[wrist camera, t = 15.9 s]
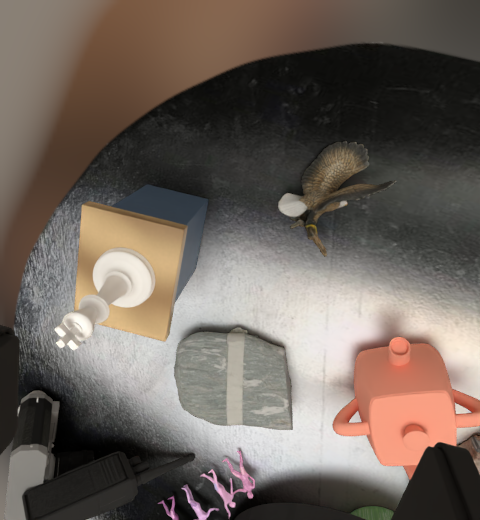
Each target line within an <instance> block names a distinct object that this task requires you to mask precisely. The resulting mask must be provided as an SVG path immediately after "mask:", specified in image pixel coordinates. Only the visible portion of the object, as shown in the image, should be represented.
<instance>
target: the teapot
mask: <svg viewBox="0 0 480 520" xmlns="http://www.w3.org/2000/svg"><path fill="white" fill-rule="evenodd" d="M354 390H355V397H356V398H355V399H353V400H352V401H351V402H350V403H349V404H347V405H346V406H345V407H344V408H343V409H342V410H341V411H340V412H339V413H338V414H337V415H336V417H335V419H334V421H333V429H334V431H335V432H336V433H337V434H339V435H343V436H361V435H367V437H368V440H369V442H370V444H371V446H372V448H373V450H374V452H375V454H376V456H377V458H378V460H379V461H380V463H381V464H382V465H385V466H403V467H404V469H405V471H406V473H407V475H408V477H409V479H410V480H411V478H412V476H413V473H414V471H415V469H416V467H417V465H418V463H419V461H420V459H421V457H422V455H423V453H424V451H425V449H426V448H427V447H428V446H430V447H434V446H435V444H436V443H438V442H442V443H446V444H450V445H454V446H456V428H463V427H476V426H480V401H479V400H478V399H475V398H473V397H471V396H469V395H466V394H464V393H461V392H459V391H456V390H454V389H452V387H451V383H450V380H449V376H448V373H447V370H446V367H445V364H444V362H443V359H442V357H441V355H440V353H439V352H438V351H437V350H436V349H435V348H434V347H433V346H431V345H429V344H424V343H421V344H410V343H409V342H408V340H406V339H405V338H403V337H395V338H393V339H392V340H391V341H390V343H389V346H387V347H380V348H374V349H368V350H364V351H361V352H360V353H359V355H358V356H357V358H356V361H355V368H354ZM454 402H455V403H457V404H459V405H461V406H463V407H465V408H467V409H468V410H470V411H471V412H472V413H466V414H456V411H455V403H454ZM357 411H359V415H360V418H361V421H362V422H359V423H348V422H349V420H350V419H351V417H352V416H353V415H354V414H355V413H356V412H357Z"/></svg>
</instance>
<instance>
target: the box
mask: <svg viewBox="0 0 480 520" xmlns="http://www.w3.org/2000/svg"><path fill="white" fill-rule="evenodd" d="M208 201H209V199H205V198H201V197H197V196H193V195H189V194H185V193H181V192H177V191H173V190H169V189H164V188H160V187H156V186H152V185H148V184H147V185H145V186H144V187H142V188H140V189H139V190H137V191H135V192H134V193H132V194H131V195H129V196H127V197H126V198H124V199H122V200H121V201H119V202H118V203H116V204H114V205H113V206H111V207H115V208H119V209H123V210H127V211H131V212H135V213H139V214H143V215H147V216H151V217H155V218H159V219H163V220H167V221H171V222H175V223H179V224H183V225H187V226H188V228H187V234H186V240H185V246H184V251H183V257H182V263H181V269H180V275H179V280H178V286H177V292H176V298H175V302H176V300H177V299H178V297H179V295H180V294H181V292H182V290H183V289H184V287H185V286H186V284H187V282H188V281H189V279H190V277H191V276H192V274H193V272H194V271H195V269H196V265H197V259H198V254H199V249H200V243H201V238H202V233H203V227H204V222H205V217H206V211H207V206H208Z"/></svg>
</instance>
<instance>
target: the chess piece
mask: <svg viewBox="0 0 480 520" xmlns="http://www.w3.org/2000/svg"><path fill="white" fill-rule="evenodd" d="M93 281H94V285H95V287H96V289H97V291H98V294H97V295H86V296H84V297H83V298H82V299H81V301H80V303H79V310H76V311H72V312H70V313H68V314H66V315H65V317H64V318H63V320H62V323H61V324H60V325H59V326H57V327H56V328H55V329H54V330H55V331H56V332H57V333H58V334H59V335H60V337H61V338H60V339H59V340H58V341H57V342H56V344H57V345H58V346H59V347H60V348H62V347H64V346H65V345H66V344H68V345H69V346H70V348H71V349H72V350H75V349H76V348H78V347H79V346H80V345H81V342H80V341H83V340H86V339H88V338H89V337H90V336H91V335H92V333H93V331H94V325H95V324H99V323H102V322H104V321H105V320H106V319H107V318H108V316H109V313H110V310H109V305H110V304H113V305H115V306H119V307H124V308H130V307H135V306H138V305H140V304H141V303H143V302H144V301H145V300H147V299H148V298H149V297H150V296H151V294H152V292H153V290H154V287H155V274H154V271H153V268H152V266H151V265H150V263H149V262H148V260H147V259H146V258H145V257H144V256H142V255H141V254H140V253H138V252H136V251H134V250H132V249H129V248H121V247H120V248H113V249H110V250H108V251H106V252H105V253H103V254H102V255H101V256H100V258H99V259H98V260H97V262H96V264H95V266H94V269H93Z"/></svg>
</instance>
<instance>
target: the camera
mask: <svg viewBox="0 0 480 520" xmlns="http://www.w3.org/2000/svg"><path fill="white" fill-rule="evenodd" d="M59 402H60V401H53V399H51V398H50V397H49V396H47V395H46V393H44V392H43V391H39V390H37V391H33V392H31V393H29V394H28V395H27V396H26V397H24V398H23V399H21V405H20V406H19V408H18V425H17V430H16V433H15V436H14V440H13V446H12V451H11V457H10V466H9V477H8V486H7V496H6V506H5V515H4V520H26V518H25V512H24V507H23V501H22V495H23V493H24V492H25V491H27V490H29V489H31V488H33V487H35V486H37V485H40V484H43V483H44V482H46V481H48V480H50V479H53V478H55V477H57V476H59V475H61V474H64V473H66V472H68V471H70V470H73V469H75V468H78V467H80V466H82V465H85V464H89V463H90V462H92V461H94V452H93V451H87V450H81V451H77V452H71V451H68V452H61V453H57V455H56V457H55V456H54V454H52V453H51V448H53V447H54V444H52V442H54V439H56V433H57V425H58V422H57V420H58V413H59V406H60V405H59Z"/></svg>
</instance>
